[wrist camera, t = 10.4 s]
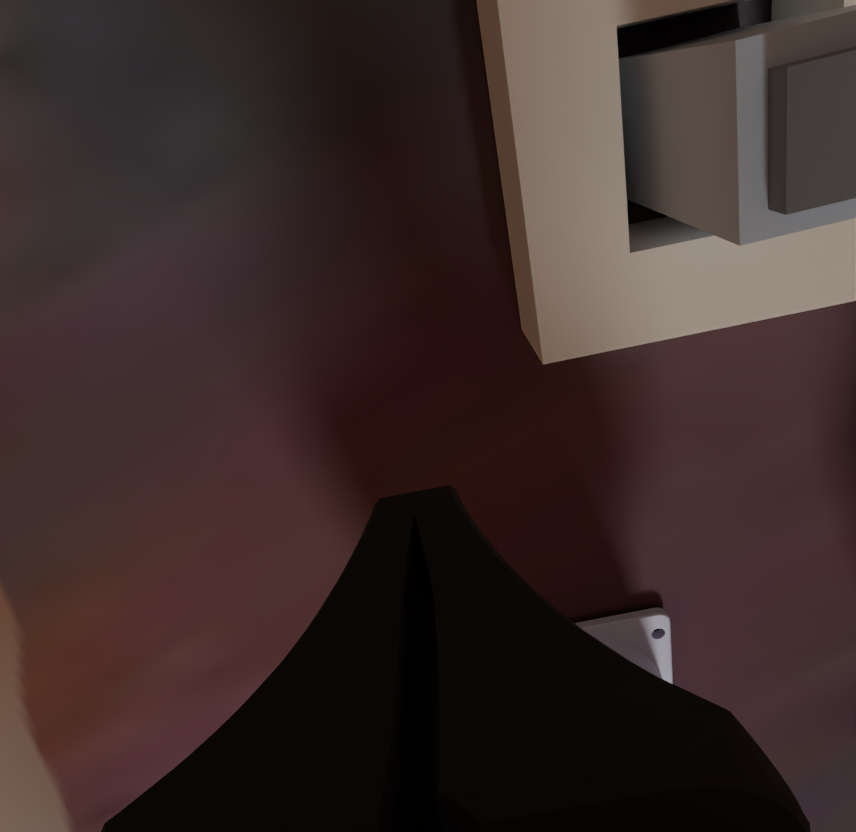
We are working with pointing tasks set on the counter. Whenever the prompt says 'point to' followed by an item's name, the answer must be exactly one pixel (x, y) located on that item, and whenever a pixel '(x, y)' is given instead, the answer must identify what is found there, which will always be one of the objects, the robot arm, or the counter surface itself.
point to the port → (621, 195)
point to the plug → (746, 127)
